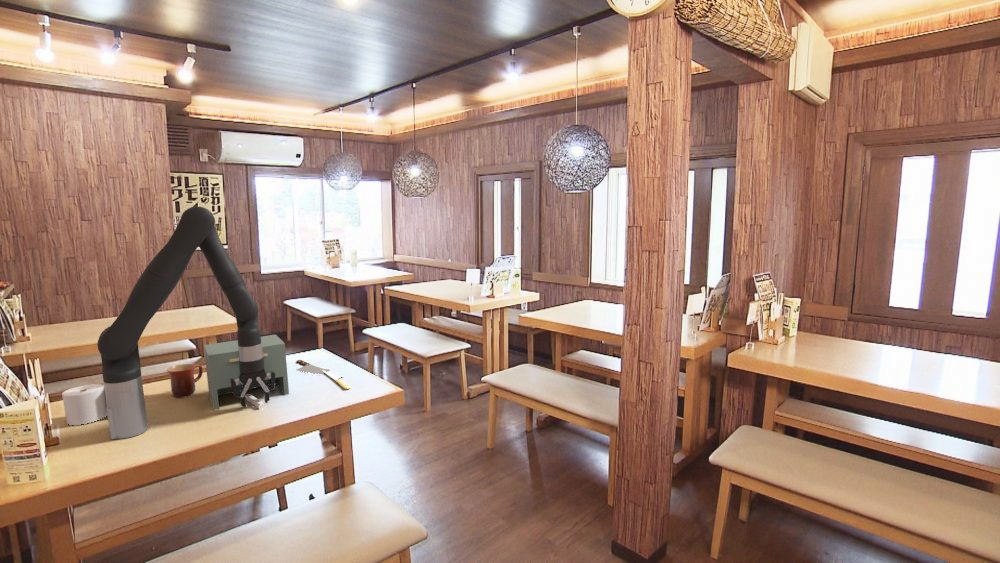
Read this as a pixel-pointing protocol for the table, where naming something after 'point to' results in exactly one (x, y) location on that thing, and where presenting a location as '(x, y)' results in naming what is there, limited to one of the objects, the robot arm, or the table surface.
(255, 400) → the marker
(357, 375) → the table surface
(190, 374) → the mug
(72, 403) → the toilet tissue
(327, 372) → the knife
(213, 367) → the cabinet
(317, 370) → the kitchen cleaver
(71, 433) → the table surface
